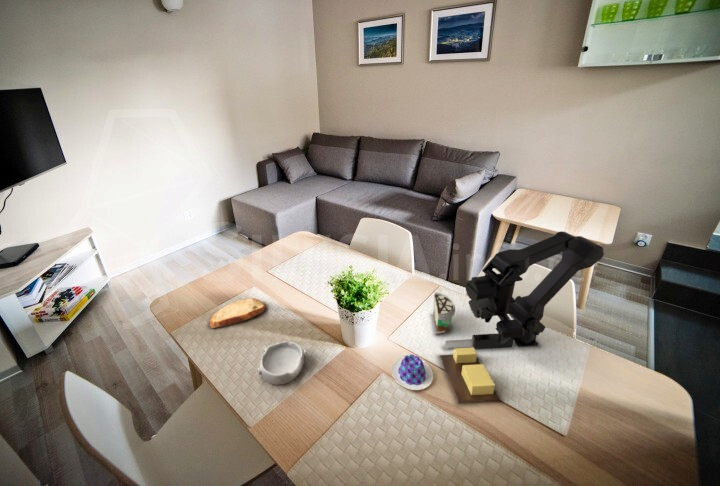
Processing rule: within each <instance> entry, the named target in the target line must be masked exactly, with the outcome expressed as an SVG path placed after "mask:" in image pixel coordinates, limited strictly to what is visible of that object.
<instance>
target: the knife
mask: <svg viewBox="0 0 720 486" xmlns="http://www.w3.org/2000/svg"><path fill="white" fill-rule="evenodd" d="M514 343H515V342H514V337H511V338H510V339H509V340H507V341H506V342H505V343H504V344H499V333H498V332H495V333H482V334H481V333H480V334H472V336H471V338H467V339H451V340H450V339H449V340H445V342H444V349H446V350H448V349H450V350H451V349H456V348H473V347H474V349H475V351H476V350H492V349H494V350H495V349H507V348H508V349H509V348H510V349H511V348H513V346H514Z"/></svg>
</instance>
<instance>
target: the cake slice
mask: <svg viewBox="0 0 720 486" xmlns="http://www.w3.org/2000/svg"><path fill="white" fill-rule="evenodd" d="M433 294H434V295H433V297H434V298H433V311H432V318H433V324H434V331H435V335H437V336H441V335H444V334H447V333H448V332H449V331H450V328H451V323H452V318H453V317H454V315H455V314H456V305H455V303H454V301H453V299H451V297H449V296H448V295H446V294H443V293H441V292H434V293H433Z"/></svg>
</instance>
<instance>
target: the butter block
mask: <svg viewBox="0 0 720 486" xmlns="http://www.w3.org/2000/svg"><path fill="white" fill-rule="evenodd" d="M461 374H462V376H463V378H464V380H465V383H466V385H467V387H468V389H469V391H470V393H471V395H483V394H493V392H494V389H495V388H496V384H495V383H494V381H493V379H492V377H491V375H490V374H489V371H488V370H487V368H486V366H485V364H484V363H480V364H477V365H463V366H462V373H461Z"/></svg>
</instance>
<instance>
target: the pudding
mask: <svg viewBox="0 0 720 486" xmlns="http://www.w3.org/2000/svg"><path fill="white" fill-rule="evenodd" d="M391 374H392V377H393V379H394V380H395V381H396V382H397V384H398V385H400V386H401V387H403V388H405V389H407V390H410V391H411V390H412V391H421V390H424V389H426V388H428V387H429V386H431V384H432V382H433V381H434V380H433V379H434V373H433V370H432V368H431V366H430V365H429V364H428V363H427V362H426V361H425V360H423V359H421V358H420V357H419V356H418V355H414V354H408V355H405V356H402V357H399V358H397V359H396V360H395V361H394V362H393V363H392V366H391Z"/></svg>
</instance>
